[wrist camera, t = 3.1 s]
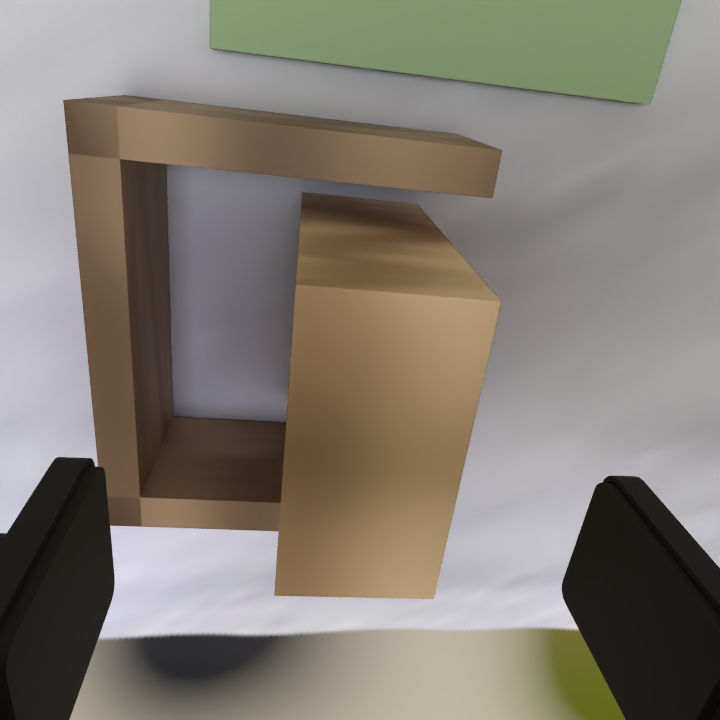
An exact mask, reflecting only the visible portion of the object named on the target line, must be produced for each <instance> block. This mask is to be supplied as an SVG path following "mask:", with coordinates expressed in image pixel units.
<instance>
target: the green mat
mask: <svg viewBox="0 0 720 720" xmlns="http://www.w3.org/2000/svg"><path fill="white" fill-rule="evenodd" d="M680 4H681V0H210V48H212V49H218V50H226V51H234V52H241V53H249V54H257V55H265V56H273V57H280V58H288V59H296V60H304V61H311V62H319V63H327V64H335V65H343V66H350V67H358V68H366V69H374V70H382V71H389V72H397V73H405V74H413V75H420V76H428V77H436V78H444V79H452V80H459V81H467V82H475V83H483V84H490V85H498V86H506V87H514V88H522V89H529V90H537V91H545V92H553V93H561V94H568V95H576V96H584V97H592V98H599V99H607V100H615V101H623V102H631V103H638V104H651V101H652V98H653V94H654V91H655V87H656V84H657V81H658V77H659V74H660V71H661V67H662V64H663V61H664V57H665V54H666V51H667V47H668V44H669V40H670V37H671V34H672V30H673V27H674V24H675V20H676V17H677V14H678V10H679V7H680Z"/></svg>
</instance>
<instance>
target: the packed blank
mask: <svg viewBox="0 0 720 720" xmlns="http://www.w3.org/2000/svg"><path fill="white" fill-rule="evenodd" d="M500 305H501V301H500V300H499V298H498V297H497V296H496V295H495V294H494V293H493V291H492V290H491V289H490V288H489V287H488V286H487V284H486V283H485V282H484V281H483V280H482V279H481V278H480V276H479V275H478V274H477V273H476V272H475V271H474V269H473V268H472V267H471V266H470V265H469V264H468V262H467V261H466V260H465V259H464V258H463V257H462V255H461V254H460V253H459V252H458V251H457V250H456V249H455V247H454V246H453V245H452V244H451V243H450V242H449V240H448V239H447V238H446V237H445V236H444V235H443V233H442V232H441V231H440V230H439V229H438V228H437V226H436V225H435V224H434V223H433V222H432V221H431V219H430V218H429V217H428V216H427V215H426V214H425V213H424V211H423V210H422V209H421V208H420V207H419V206H418V204H413V203H403V202H393V201H383V200H374V199H364V198H354V197H344V196H334V195H325V194H315V193H305V192H302V205H301V219H300V233H299V247H298V261H297V274H296V288H295V303H294V318H293V332H292V347H291V361H290V376H289V390H288V405H287V420H286V434H285V449H284V463H283V478H282V492H281V507H280V522H279V536H278V551H277V565H276V580H275V595H274V596H319V597H367V598H415V599H434V594H435V590H436V586H437V581H438V577H439V573H440V568H441V564H442V559H443V555H444V551H445V546H446V542H447V538H448V533H449V529H450V524H451V520H452V516H453V511H454V507H455V503H456V498H457V494H458V489H459V485H460V481H461V476H462V472H463V467H464V463H465V459H466V454H467V450H468V446H469V441H470V437H471V432H472V428H473V424H474V419H475V415H476V411H477V406H478V402H479V397H480V393H481V389H482V384H483V380H484V375H485V371H486V367H487V362H488V358H489V354H490V349H491V345H492V340H493V336H494V332H495V327H496V323H497V319H498V314H499V310H500Z"/></svg>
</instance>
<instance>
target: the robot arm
mask: <svg viewBox="0 0 720 720" xmlns="http://www.w3.org/2000/svg"><path fill="white" fill-rule="evenodd" d="M113 592H114V567H113V556H112V545H111V533H110V522H109V510H108V499H107V487H106V476H105V470H104V468H103V467H95V465H94V462H93V460H92V459H91V458H66V457H58V458H56V459H55V460H54V461H53V462H52V464H51V465H50V467H49V468H48V470H47V472H46V473H45V475H44V476H43V478H42V479H41V481H40V482H39V484H38V486H37V487H36V489H35V490H34V492H33V493H32V495H31V497H30V498H29V500H28V501H27V503H26V504H25V506H24V507H23V509H22V511H21V512H20V514H19V515H18V517H17V518H16V520H15V522H14V523H13V525H12V526H11V528H10V529H9V531H8V533H7V534H6V533H0V720H69V719H70V716H71V713H72V711H73V708H74V705H75V702H76V699H77V696H78V694H79V691H80V688H81V685H82V682H83V680H84V677H85V674H86V671H87V668H88V665H89V662H90V660H91V657H92V654H93V651H94V649H95V646H96V643H97V640H98V637H99V634H100V632H101V629H102V626H103V623H104V620H105V618H106V615H107V612H108V609H109V606H110V603H111V600H112V597H113ZM562 594H563V598H564V601H565V603H566V605H567V607H568V609H569V611H570V613H571V615H572V617H573V619H574V621H575V622H576V624H577V626H578V628H579V630H580V632H581V634H582V636H583V638H584V640H585V642H586V644H587V646H588V648H589V649H590V651H591V653H592V655H593V657H594V659H595V661H596V663H597V665H598V667H599V668H600V671H601V672H602V674H603V676H604V678H605V680H606V682H607V684H608V686H609V688H610V690H611V692H612V694H613V696H614V698H615V699H616V702H617V703H618V705H619V707H620V709H621V711H622V713H623V715H624V717H625V719H626V720H720V568H719V567H718V566H717V565H716V563H715V562H714V561H713V560H712V559H711V558H710V557H709V555H708V554H707V553H706V552H705V551H704V550H703V549H702V547H701V546H700V545H699V544H698V543H697V542H696V541H695V539H694V538H693V537H692V536H691V535H690V534H689V533H688V531H687V530H686V529H685V528H684V527H683V526H682V525H681V523H680V522H679V521H678V520H677V519H676V518H675V516H674V515H673V514H672V513H671V512H670V511H669V510H668V508H667V507H666V506H665V505H664V504H663V503H662V502H661V500H660V499H659V498H658V497H657V496H656V495H655V494H654V492H653V491H652V490H651V489H650V488H649V487H648V486H647V484H646V483H645V482H644V481H643V480H642V479H641V478H639V477H634V476H608V477H606V478H605V479H604V481H603V483H599V484H598V485H597V486H596V488H595V490H594V493H593V496H592V499H591V502H590V504H589V507H588V510H587V513H586V516H585V519H584V522H583V525H582V527H581V530H580V533H579V536H578V539H577V542H576V545H575V548H574V551H573V553H572V556H571V559H570V562H569V565H568V568H567V571H566V574H565V576H564V579H563V583H562Z"/></svg>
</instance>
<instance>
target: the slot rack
mask: <svg viewBox="0 0 720 720" xmlns="http://www.w3.org/2000/svg"><path fill="white" fill-rule="evenodd" d="M63 101H64V111H65V122H66V132H67V143H68V153H69V164H70V174H71V185H72V195H73V206H74V216H75V227H76V238H77V248H78V259H79V269H80V280H81V290H82V301H83V311H84V322H85V332H86V343H87V353H88V364H89V374H90V385H91V395H92V406H93V416H94V427H95V437H96V448H97V458H98V467H103V468H104V470H105V476H106V487H107V499H108V510H109V522H110V525H111V526H140V527H170V528H200V529H230V530H260V531H279V522H280V507H281V492H282V478H283V463H284V449H285V434H286V423H279V422H261V421H242V420H224V419H206V418H188V417H173V397H172V361H171V325H170V289H169V253H168V217H167V181H166V164H171V165H181V166H190V167H200V168H209V169H219V170H228V171H238V172H247V173H257V174H267V175H276V176H286V177H295V178H305V179H314V180H324V181H333V182H343V183H352V184H362V185H372V186H381V187H391V188H400V189H410V190H419V191H429V192H438V193H448V194H458V195H467V196H477V197H486V198H493V193H494V188H495V183H496V178H497V173H498V169H499V164H500V159H501V154H502V150H499V149H497V148H494V147H491V146H488V145H486V144H483V143H480V142H477V141H475V140H472V139H469V138H466V137H464V136H461V135H458V134H451V133H442V132H434V131H425V130H417V129H408V128H400V127H391V126H382V125H374V124H365V123H357V122H348V121H340V120H331V119H323V118H314V117H306V116H297V115H289V114H280V113H272V112H263V111H255V110H246V109H237V108H229V107H220V106H212V105H203V104H195V103H186V102H178V101H169V100H161V99H152V98H144V97H135V96H127V95H122V96H109V97H96V98H84V99H71V100H63Z"/></svg>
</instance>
